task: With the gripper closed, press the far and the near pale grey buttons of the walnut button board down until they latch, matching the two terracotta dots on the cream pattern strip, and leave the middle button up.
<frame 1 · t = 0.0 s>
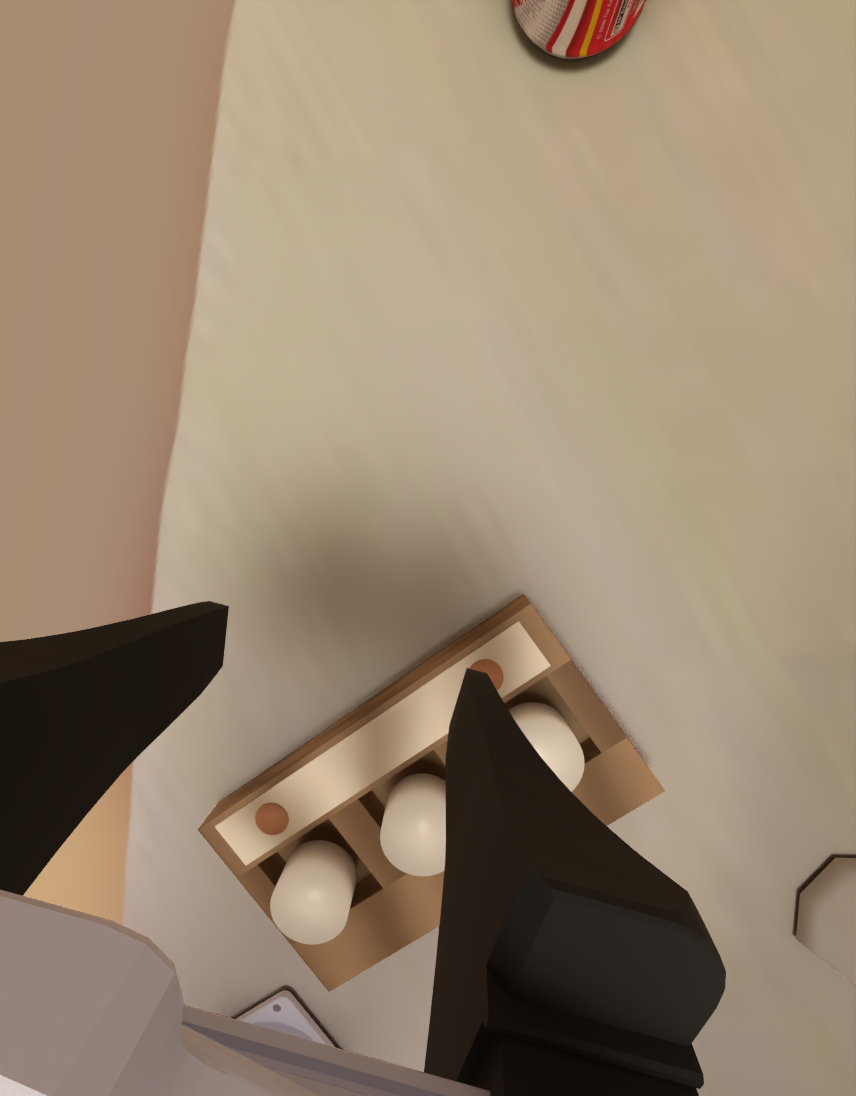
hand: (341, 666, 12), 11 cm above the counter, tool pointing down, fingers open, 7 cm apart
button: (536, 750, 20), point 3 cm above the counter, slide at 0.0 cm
middle button: (422, 822, 20), point 3 cm above the counter, slide at 0.0 cm
flask: (853, 905, 23), on the counter
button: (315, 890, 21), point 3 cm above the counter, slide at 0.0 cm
board: (425, 784, 23), on the counter
soda can: (572, 4, 19), on the counter
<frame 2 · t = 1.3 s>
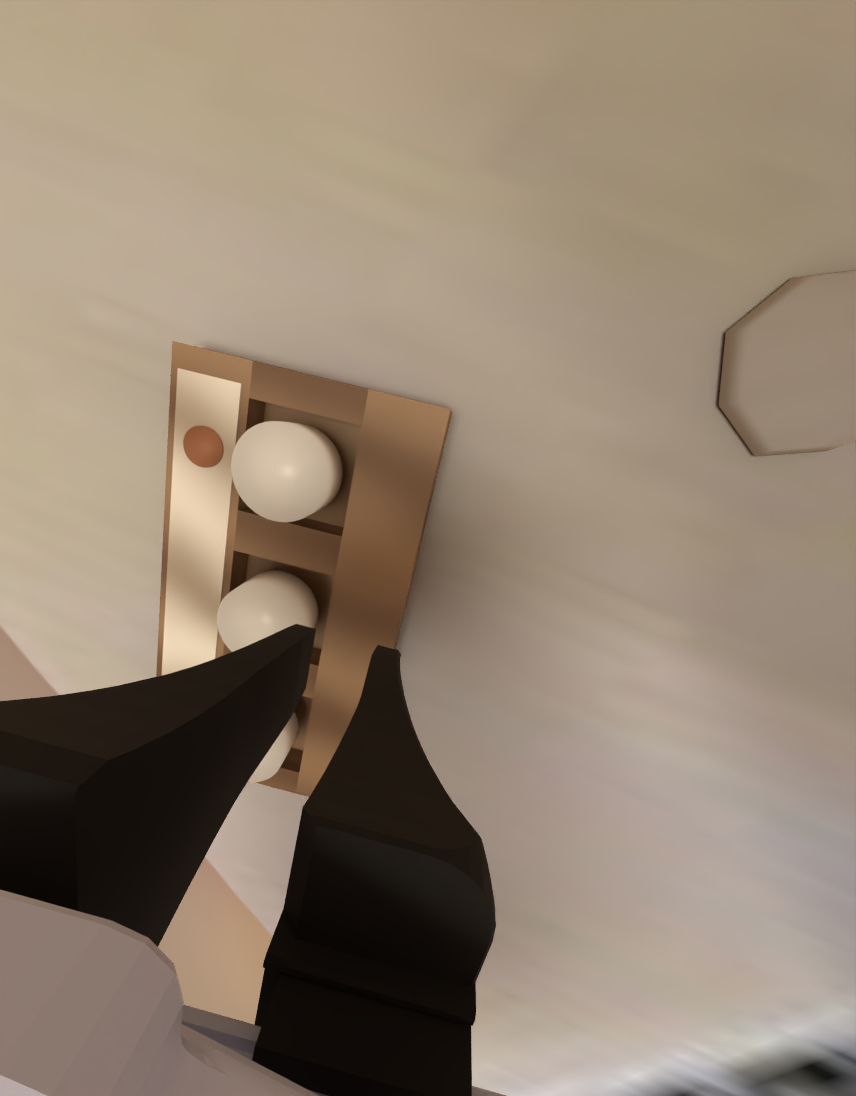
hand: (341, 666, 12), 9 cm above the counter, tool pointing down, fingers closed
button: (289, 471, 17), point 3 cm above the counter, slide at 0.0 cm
middle button: (269, 617, 19), point 3 cm above the counter, slide at 0.0 cm
flask: (800, 370, 17), on the counter
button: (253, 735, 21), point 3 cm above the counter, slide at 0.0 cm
board: (294, 594, 22), on the counter
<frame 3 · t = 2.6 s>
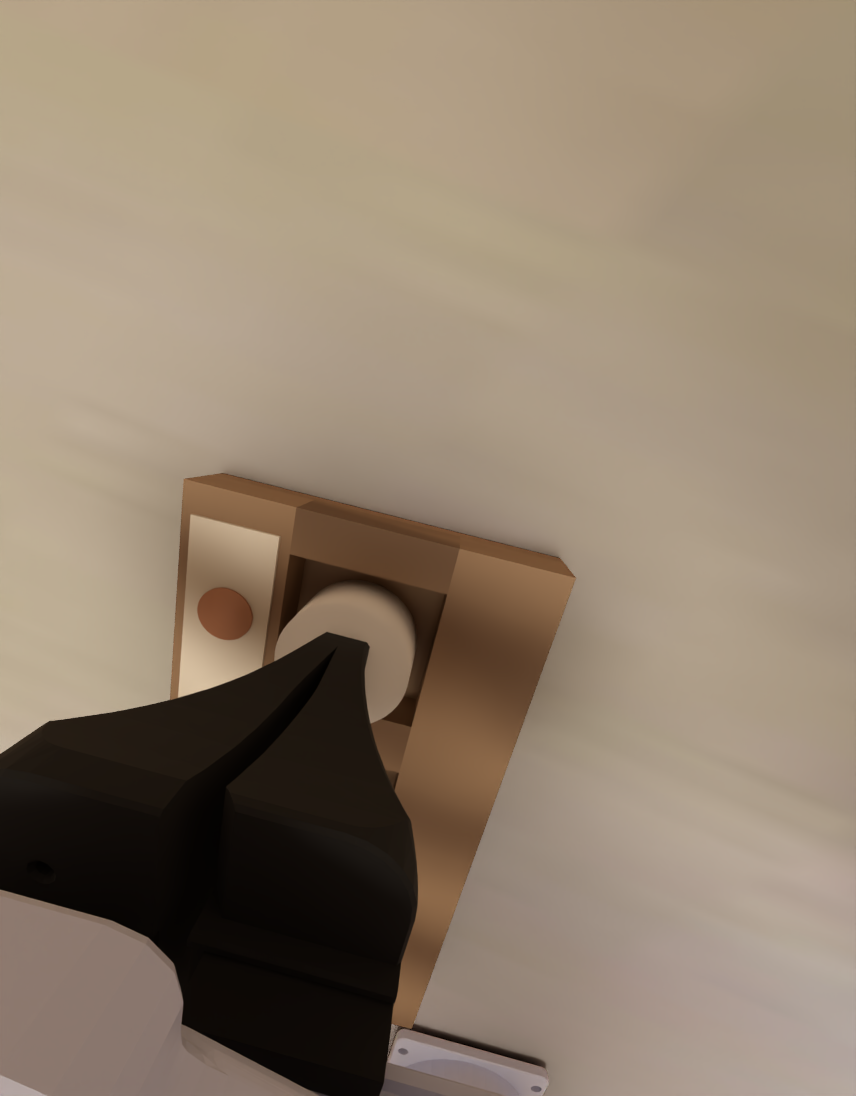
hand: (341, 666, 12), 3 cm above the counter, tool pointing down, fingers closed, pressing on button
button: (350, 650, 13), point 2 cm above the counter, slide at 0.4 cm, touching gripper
board: (336, 765, 17), on the counter
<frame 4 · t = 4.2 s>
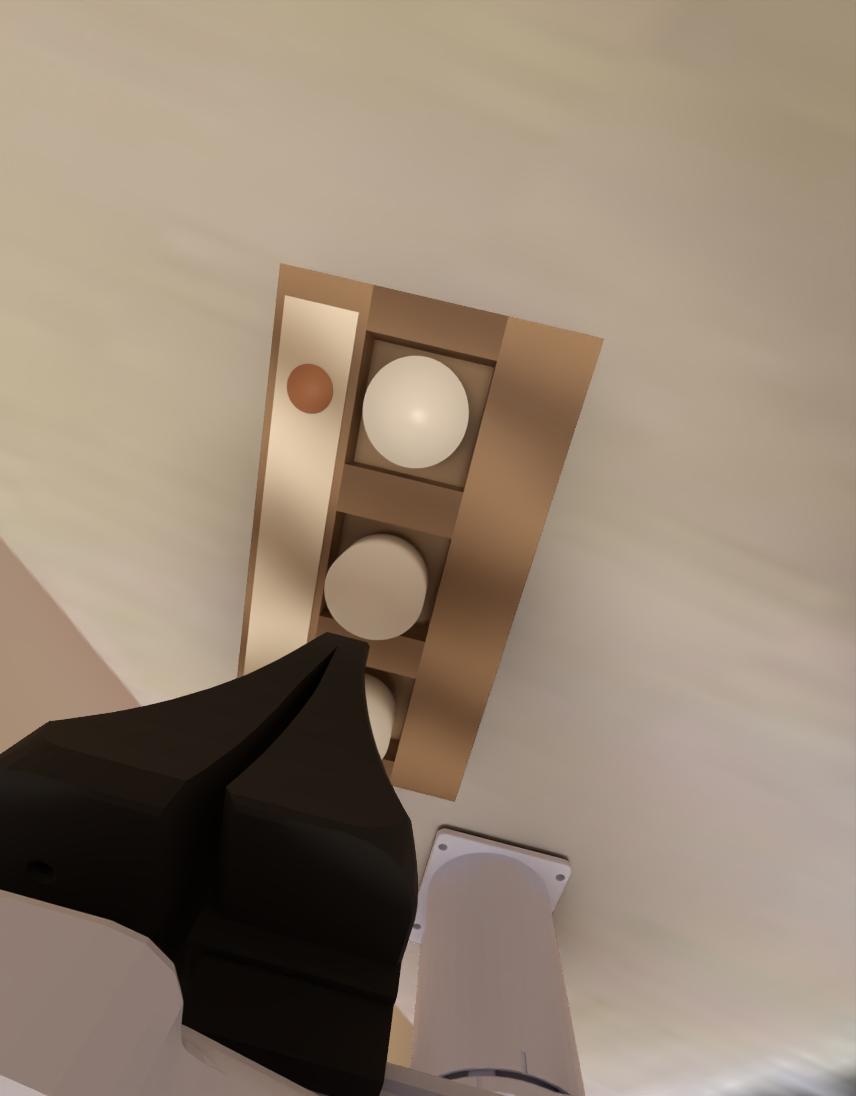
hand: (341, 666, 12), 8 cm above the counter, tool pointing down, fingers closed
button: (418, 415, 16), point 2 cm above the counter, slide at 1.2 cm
middle button: (378, 585, 17), point 3 cm above the counter, slide at 0.0 cm
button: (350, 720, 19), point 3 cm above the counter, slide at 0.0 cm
board: (390, 564, 19), on the counter
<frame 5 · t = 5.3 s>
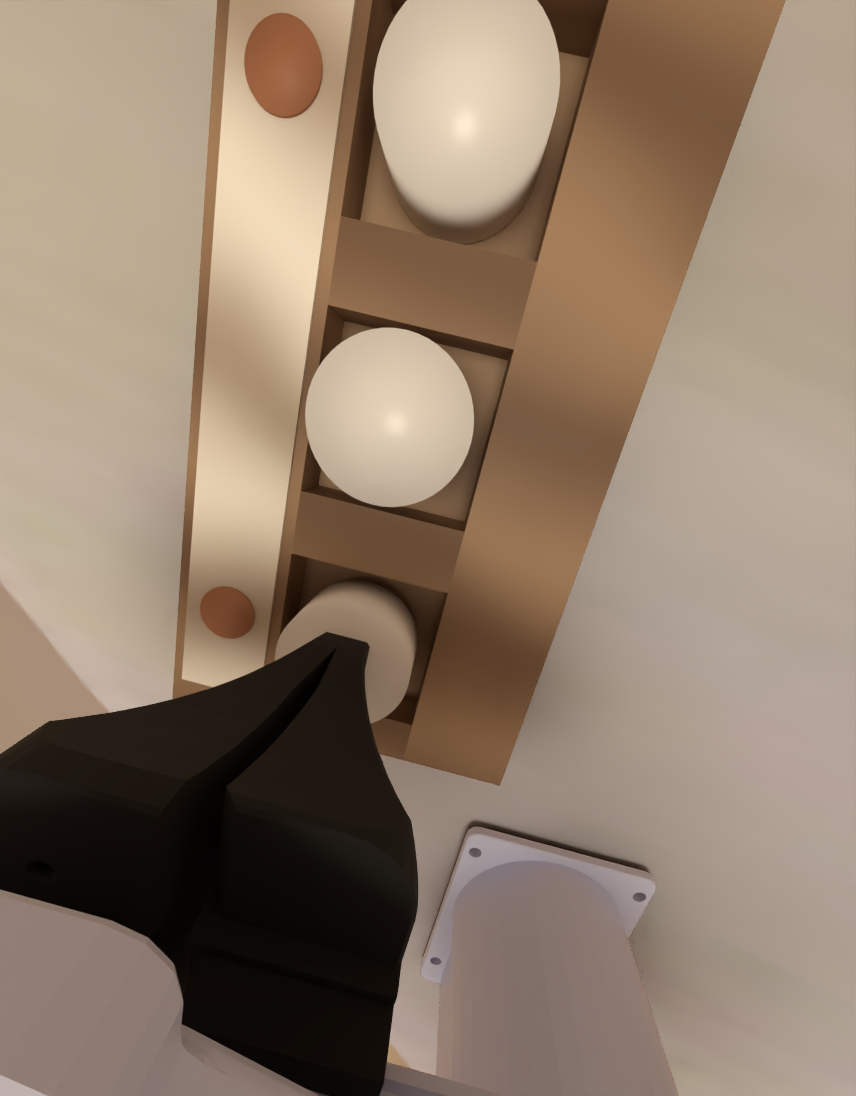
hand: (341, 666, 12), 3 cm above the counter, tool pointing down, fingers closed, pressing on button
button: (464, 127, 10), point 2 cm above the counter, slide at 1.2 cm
middle button: (395, 423, 10), point 3 cm above the counter, slide at 0.0 cm
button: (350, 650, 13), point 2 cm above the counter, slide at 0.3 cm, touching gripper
board: (409, 426, 13), on the counter
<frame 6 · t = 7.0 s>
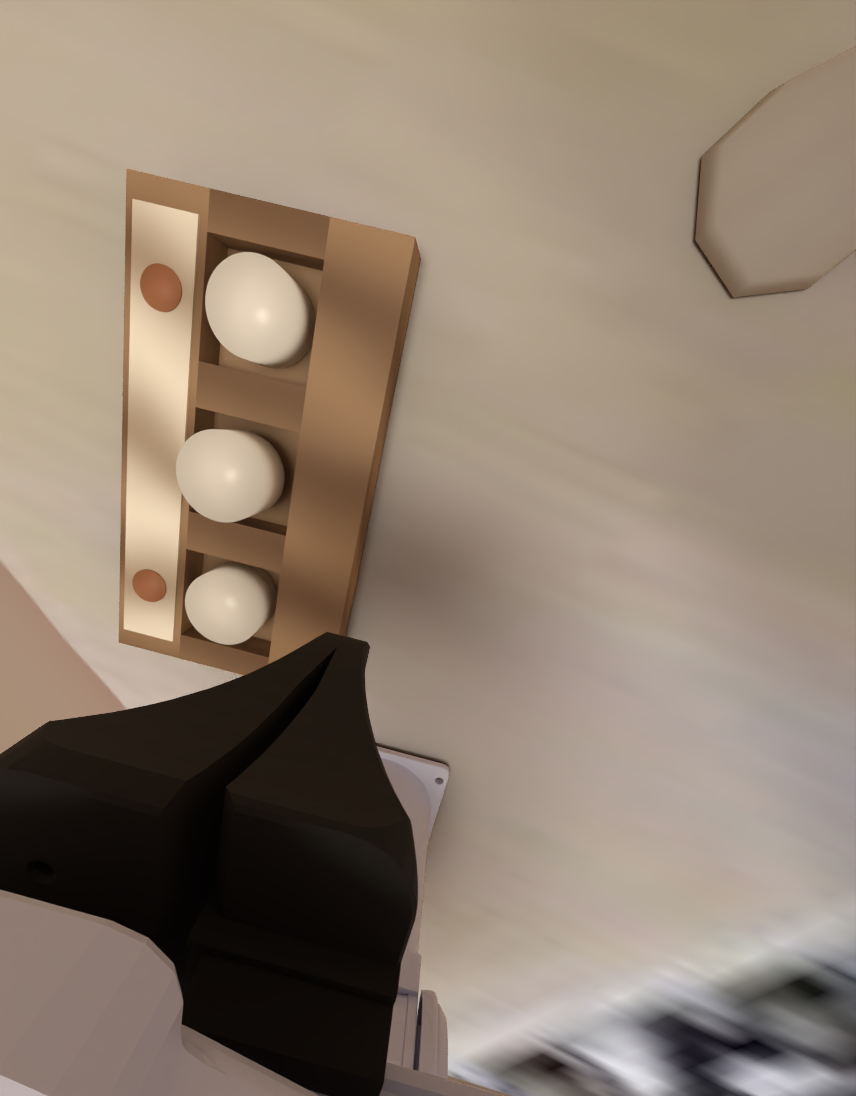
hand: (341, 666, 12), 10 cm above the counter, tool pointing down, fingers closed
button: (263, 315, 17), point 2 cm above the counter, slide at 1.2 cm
middle button: (232, 475, 18), point 3 cm above the counter, slide at 0.0 cm
flask: (780, 201, 16), on the counter
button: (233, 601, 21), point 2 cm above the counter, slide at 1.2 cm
board: (262, 470, 21), on the counter
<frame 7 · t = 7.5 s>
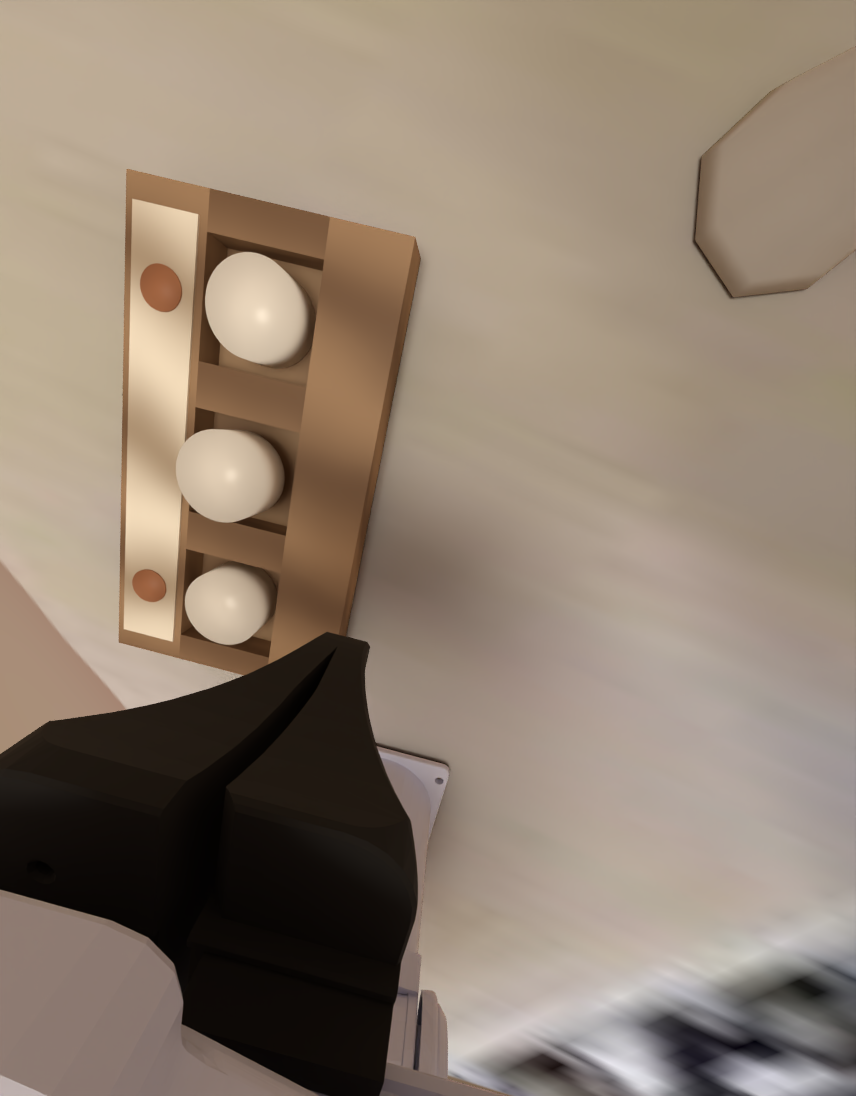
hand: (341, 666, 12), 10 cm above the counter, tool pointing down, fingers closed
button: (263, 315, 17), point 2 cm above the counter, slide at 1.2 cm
middle button: (232, 475, 18), point 3 cm above the counter, slide at 0.0 cm
flask: (780, 201, 16), on the counter
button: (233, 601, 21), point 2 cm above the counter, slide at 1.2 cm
board: (262, 470, 21), on the counter
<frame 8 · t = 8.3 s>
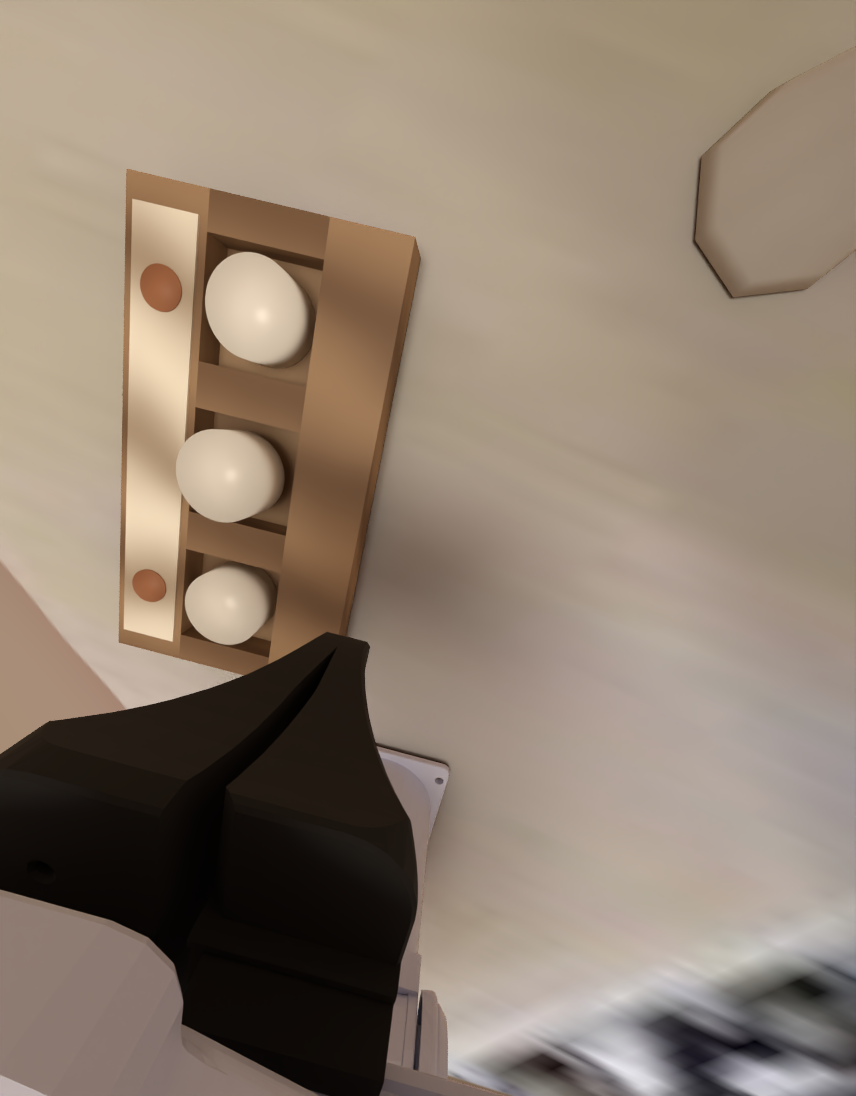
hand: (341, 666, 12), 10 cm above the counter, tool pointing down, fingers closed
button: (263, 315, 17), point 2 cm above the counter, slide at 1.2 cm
middle button: (232, 475, 18), point 3 cm above the counter, slide at 0.0 cm
flask: (780, 201, 16), on the counter
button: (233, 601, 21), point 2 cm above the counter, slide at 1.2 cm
board: (262, 470, 21), on the counter
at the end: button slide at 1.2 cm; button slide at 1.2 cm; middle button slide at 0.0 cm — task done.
